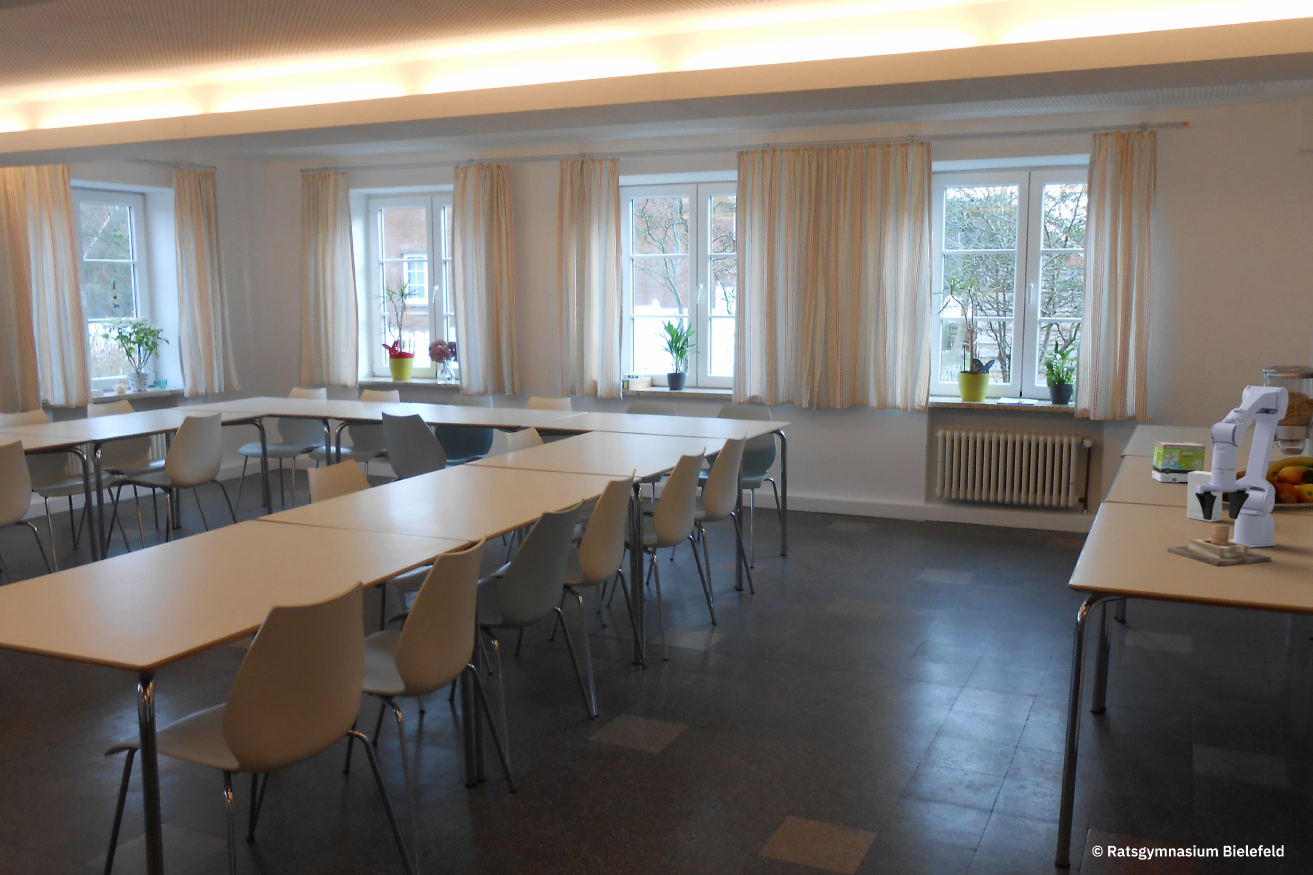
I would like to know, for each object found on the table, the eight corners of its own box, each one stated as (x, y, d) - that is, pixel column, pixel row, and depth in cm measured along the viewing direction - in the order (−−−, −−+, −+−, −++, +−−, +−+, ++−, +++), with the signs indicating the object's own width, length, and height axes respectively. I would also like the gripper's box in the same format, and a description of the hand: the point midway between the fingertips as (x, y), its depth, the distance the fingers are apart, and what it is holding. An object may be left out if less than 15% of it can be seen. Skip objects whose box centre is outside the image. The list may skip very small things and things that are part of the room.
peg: (1210, 549, 267) (1212, 524, 266) (1227, 551, 265) (1229, 525, 264) (1209, 552, 264) (1211, 526, 263) (1226, 554, 262) (1228, 528, 261)
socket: (1219, 546, 275) (1220, 534, 275) (1271, 560, 260) (1272, 547, 259) (1167, 551, 270) (1168, 538, 269) (1216, 565, 255) (1217, 552, 254)
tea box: (1160, 482, 375) (1162, 443, 373) (1151, 478, 385) (1154, 440, 383) (1203, 484, 373) (1205, 444, 371) (1193, 479, 383) (1196, 441, 381)
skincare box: (1221, 520, 309) (1225, 473, 307) (1211, 522, 306) (1215, 474, 304) (1194, 515, 316) (1198, 469, 314) (1184, 517, 313) (1187, 471, 311)
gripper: (1237, 465, 267) (1233, 514, 269) (1188, 466, 265) (1185, 516, 267) (1257, 469, 260) (1253, 520, 262) (1207, 470, 258) (1203, 522, 260)
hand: (1220, 519), depth 264 cm, fingers open, 7 cm apart
